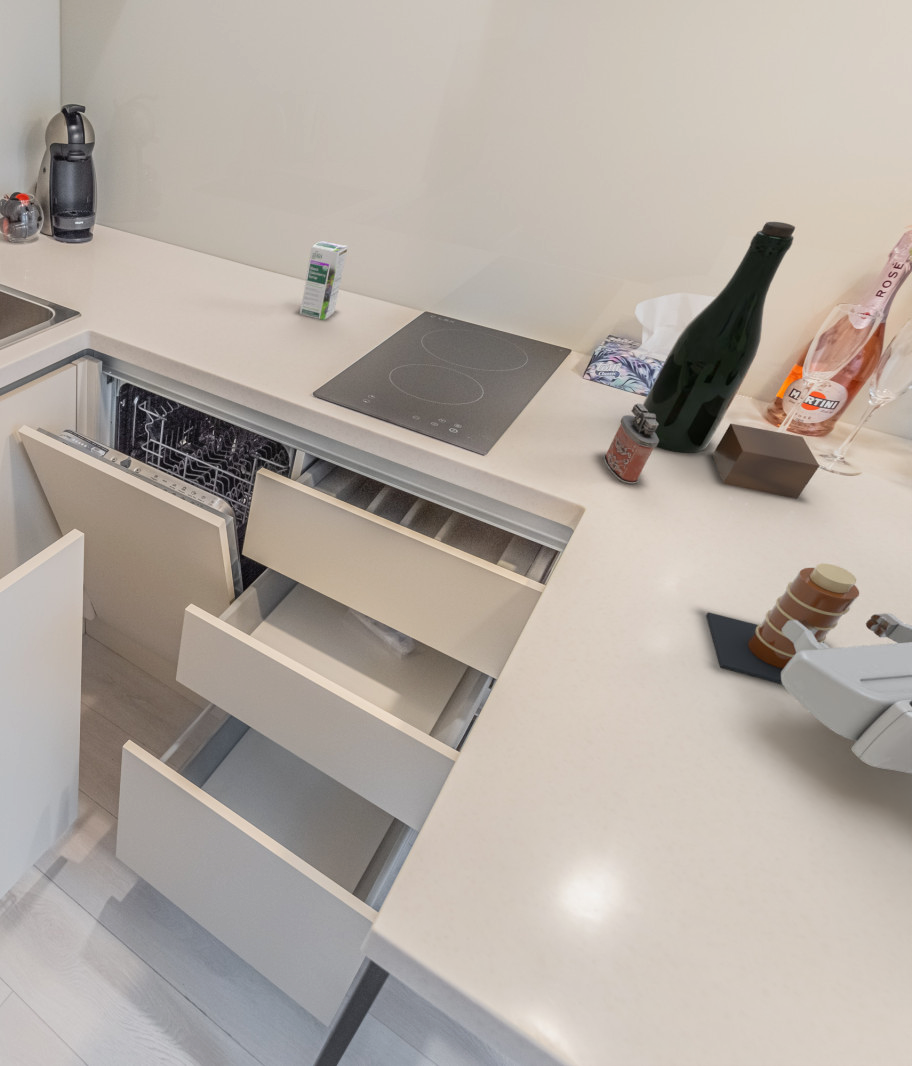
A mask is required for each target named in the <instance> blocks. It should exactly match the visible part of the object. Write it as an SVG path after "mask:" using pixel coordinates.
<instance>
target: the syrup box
mask: <svg viewBox="0 0 912 1066" xmlns="http://www.w3.org/2000/svg"><path fill="white" fill-rule="evenodd" d="M348 248H349V247H348V245H344V244H338V243H333V242H329V241H326V240H325V241H324V240H321V241H318V242H316V243H315V244H313V245H312V246H311V248H310V255H309V261H308V265H307V271H306V277H305V284H304V290H303V293H302V294H303V295H302V300H301V305H300V310H299V315H303V316H306V317H310V318H315V319H319V320H322V321H325V320H326V319H328V318H329V317H331V316H332V315H333V314H334V313H335V310H336V305H337V301H338V295H339V291H340V286H341V282H342V277H343V271H344V266H345V262H346V256H347V252H348Z"/></svg>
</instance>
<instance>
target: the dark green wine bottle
mask: <svg viewBox="0 0 912 1066" xmlns="http://www.w3.org/2000/svg"><path fill="white" fill-rule="evenodd" d="M795 229H796V226H795V225H793V224H790V223H786V222H781V221H767V222H765V224H764V225H763V226H762V229H761V230H758V231H757V232H756V233H755V234H754V235H753V236H752V238H751V239H750V242H749V246H748V248H747V250H746V252H745V254H744V256H743V258H742V259H741V261H740V263H739V265H738V266H737V268H736V269H735V271H734V273H733V274H732V276H731V278H730V279H729V280H728V282H727V283H726V285H725V286H724V287H723V288H722V290H721V291H720V292H719V293H718V295H716V296H715V298H714V299H713V300H712V301H711V302H710V303H708V305H706V306H705V307H704V308H703V309H702V310H701V311H700V312H699V313H698V314H697V315H696V316H695V317H694V318H693V319H692V320H691V321H689V323H688V324H687V325H686V327H684V329H683V330H682V332H681V333H680V334H679V336H678V337H677V339H676V340H675V343H674V344H673V346H672V348H671V350H670V351H669V353H668V355H667V357H666V358H665V360H664V362H663V364H662V366H661V368H660V370H659V371H658V374H657V376H656V377H655V379H654V381H653V384H652V385H651V386H650V389H649V391H648V393H647V395H646V397H645V398H644V400H643V402H642V403H641V404H642V405H643V406H644V407H645V408H646V409H647V410H648V412H649V413H652V414H655V415H656V422H657V423H658V426H657V428H656V430H655V431H654V432H655V433H656V435H657V437H658V439H659V442H658V444H657V446H656V447H655V448H659V449H663V450H666V451H669V452H670V451H671V452H675V453H685V454H694V453H699V452H702V451H703V450H705V449H706V448H707V447H708V445H709V444H710V442H711V441H712V439H713V437H714V435H715V434H716V432H717V430H718V428H719V427H720V425H721V423H722V421H723V419H724V417H725V416H726V414H727V412H728V410H729V408H730V406H731V404H732V403H733V401H734V399H735V397H736V396H737V393H738V392H739V390H740V387H741V386H742V384H743V382H744V380H745V378H746V376H747V375H748V372H749V370H750V369H751V367H752V364H753V362H754V360H755V358H756V356H757V353H758V350H759V347H760V343H761V338H762V329H763V317H764V309H765V303H766V299H767V295H768V292H769V290H770V287H771V284H772V282H773V280H774V278H775V276H776V273H777V271H778V269H779V267H780V265H781V264H782V261H783V260H784V258H785V256H786V254H787V253H788V251H789V250H790V249H791V247H792V245H793V243H794V236H793V233H794V232H795Z"/></svg>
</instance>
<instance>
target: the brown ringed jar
mask: <svg viewBox="0 0 912 1066" xmlns="http://www.w3.org/2000/svg"><path fill="white" fill-rule="evenodd" d="M856 583H857V578H856V576H855V575H854V574H853V573H851V571H849V570H847V569H845V568H843V567H841V566H838V565H835V564H831V563H819V564H817V565H816V566H815V567H805V568H802V569H801V570H799V572H798V573H797V575H796V576H795V578H794V579H793V580H792V581H790V582H789V583H787V585H786V588H785V591H784V592H783V594H782V595H780V596H779V597H778V598H777V599H776V600H775V605H774V606H773V607H772V609H769V610H768V611H767V612H766V613H765V618H764V619H763V620H762V621H761V623H759V624H757V625H758V626H757V627H756V630H755V633H754V634H753V636H752V637H751V638H750V640H749V641H748V647H749V649H750V650H751V652H752V653H753V654H754V655H755V656H757V657H758V658H759V659H761V660H762V661H764V662H766V663H768V664H770V665H772V666H775V667H778V668H782V669H783V668H784V667H785V666H786V665H787V663H788V662H789V661H790V660H791V658H792V657H793V656H794V655H795V654H796V650H795V647H794V643H793V642H792V641H790V640H789V639H788V638H787V637H786V636H785V635H784V634H783V633H782V628H783V626H784V625H785V624H786V623H787V621H789V620H802V619H804V620H807V621H808V622H809V624H811V625H813V626H814V627H815V628H816V629H818V631H817V632H816V633H815V634H814V636H815V638H816V640H817V642H818V643H822V642H825V641H826V639H827V635H828V634H829V633H830V632H831V631H832V630H834V629H835V628H836V627H837V626H838V622H839V621H840V619H841V618H842V617H843V616H844V615H846V614H848V613H849V611H850V609H851V607H852V604H853V603H854V602H855V601H856V600H857V598H858V597H860V590H859V589H858V587H857V586H856V585H855V584H856Z"/></svg>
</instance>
